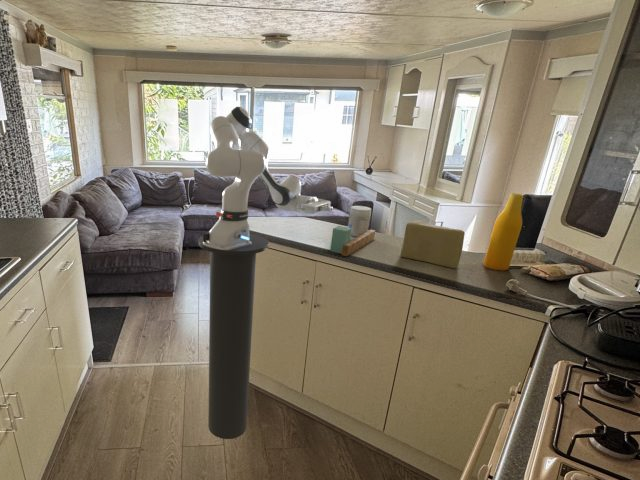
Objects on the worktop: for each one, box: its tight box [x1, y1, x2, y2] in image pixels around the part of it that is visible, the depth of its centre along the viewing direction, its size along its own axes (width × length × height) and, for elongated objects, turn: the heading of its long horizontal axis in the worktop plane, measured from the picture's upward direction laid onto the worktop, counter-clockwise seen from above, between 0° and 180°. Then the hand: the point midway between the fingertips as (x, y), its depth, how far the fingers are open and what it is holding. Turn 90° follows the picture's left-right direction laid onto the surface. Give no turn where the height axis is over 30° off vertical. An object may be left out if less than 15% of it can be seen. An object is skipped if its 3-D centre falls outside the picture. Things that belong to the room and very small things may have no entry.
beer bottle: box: [483, 193, 524, 272], centre depth 167 cm, size 9×9×29 cm
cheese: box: [400, 219, 466, 269], centre depth 174 cm, size 22×10×15 cm, turn 44°
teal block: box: [329, 225, 352, 255], centre depth 183 cm, size 6×6×10 cm
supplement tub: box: [347, 205, 372, 241], centre depth 202 cm, size 10×10×15 cm
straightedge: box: [341, 229, 376, 257], centre depth 191 cm, size 34×2×4 cm, turn 145°
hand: (331, 209), depth 207 cm, fingers closed
